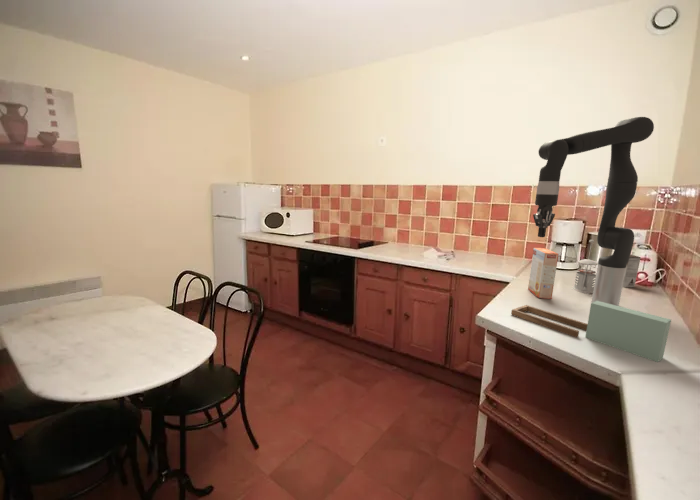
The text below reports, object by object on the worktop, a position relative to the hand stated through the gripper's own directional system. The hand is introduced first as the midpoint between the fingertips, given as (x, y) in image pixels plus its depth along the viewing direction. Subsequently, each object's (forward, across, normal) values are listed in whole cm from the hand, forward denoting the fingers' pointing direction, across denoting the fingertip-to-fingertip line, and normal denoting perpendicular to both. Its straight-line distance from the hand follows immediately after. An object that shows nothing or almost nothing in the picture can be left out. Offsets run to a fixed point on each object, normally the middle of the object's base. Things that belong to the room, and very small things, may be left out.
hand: (541, 236), depth 130 cm
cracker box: (+29, +18, +6) cm, 35 cm away
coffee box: (+29, +74, -8) cm, 80 cm away
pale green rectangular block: (+29, -13, -34) cm, 47 cm away
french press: (+29, +44, -2) cm, 53 cm away
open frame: (+29, -13, -13) cm, 34 cm away
